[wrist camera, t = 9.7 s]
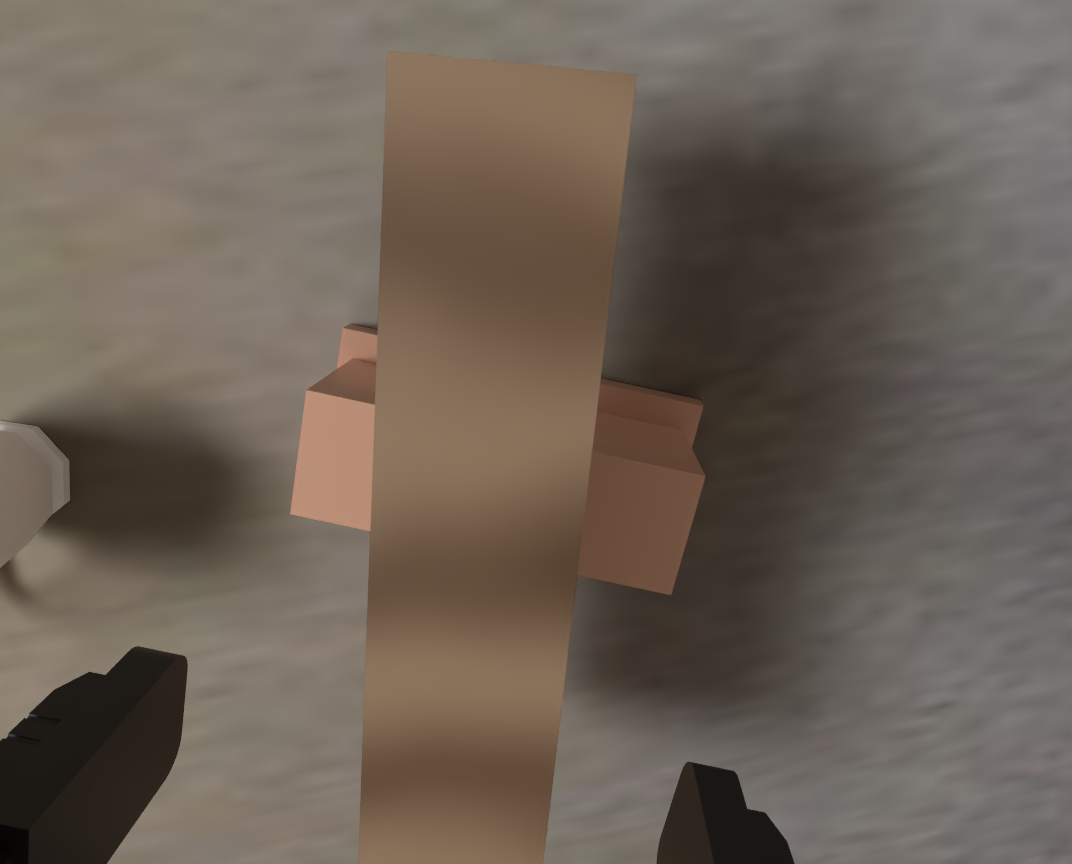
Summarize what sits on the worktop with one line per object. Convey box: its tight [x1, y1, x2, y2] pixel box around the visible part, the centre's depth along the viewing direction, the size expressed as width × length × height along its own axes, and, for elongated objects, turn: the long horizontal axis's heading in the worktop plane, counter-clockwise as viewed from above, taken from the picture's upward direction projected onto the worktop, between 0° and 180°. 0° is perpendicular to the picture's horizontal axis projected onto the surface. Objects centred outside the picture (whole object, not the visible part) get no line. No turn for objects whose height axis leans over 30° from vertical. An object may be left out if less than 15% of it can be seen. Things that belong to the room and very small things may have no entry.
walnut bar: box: [358, 51, 637, 864], centre depth 21 cm, size 22×5×5 cm, turn 175°
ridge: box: [290, 324, 706, 595], centre depth 26 cm, size 6×13×6 cm, turn 78°
